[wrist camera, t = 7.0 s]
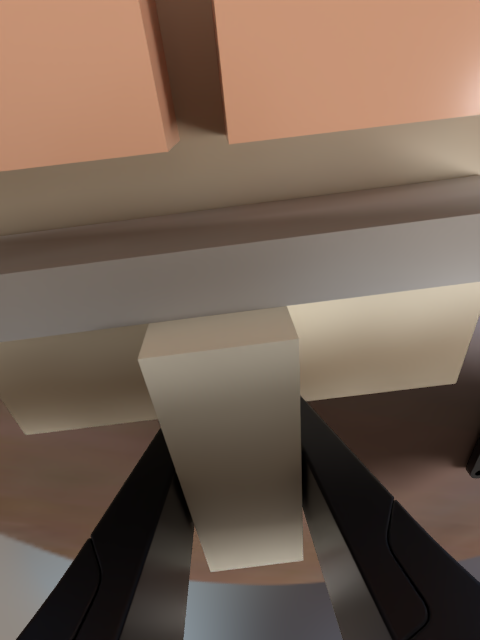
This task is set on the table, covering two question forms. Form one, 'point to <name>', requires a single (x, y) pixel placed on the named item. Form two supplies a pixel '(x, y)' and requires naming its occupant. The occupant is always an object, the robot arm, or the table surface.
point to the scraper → (237, 326)
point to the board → (227, 191)
